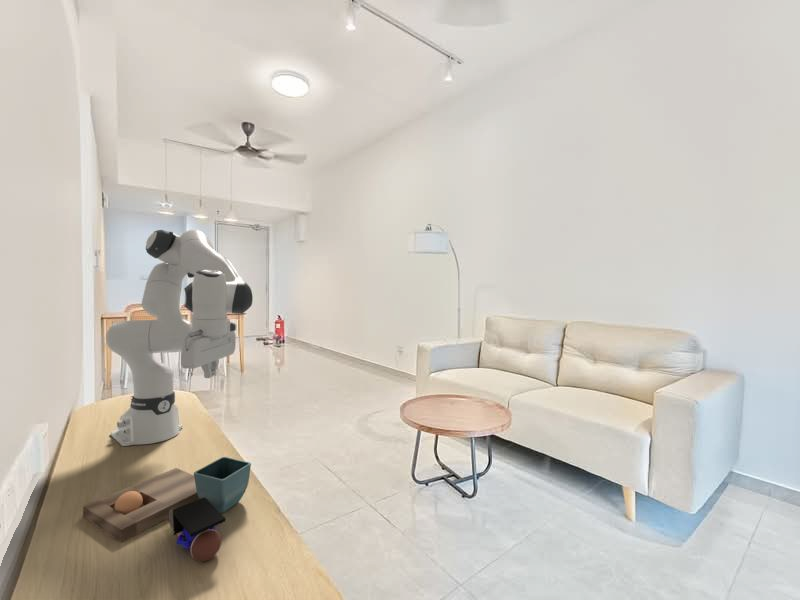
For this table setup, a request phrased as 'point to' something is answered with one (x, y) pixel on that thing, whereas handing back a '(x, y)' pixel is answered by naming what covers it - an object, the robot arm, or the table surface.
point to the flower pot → (223, 482)
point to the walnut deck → (156, 496)
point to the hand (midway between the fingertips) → (210, 376)
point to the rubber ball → (128, 502)
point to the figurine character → (197, 528)
